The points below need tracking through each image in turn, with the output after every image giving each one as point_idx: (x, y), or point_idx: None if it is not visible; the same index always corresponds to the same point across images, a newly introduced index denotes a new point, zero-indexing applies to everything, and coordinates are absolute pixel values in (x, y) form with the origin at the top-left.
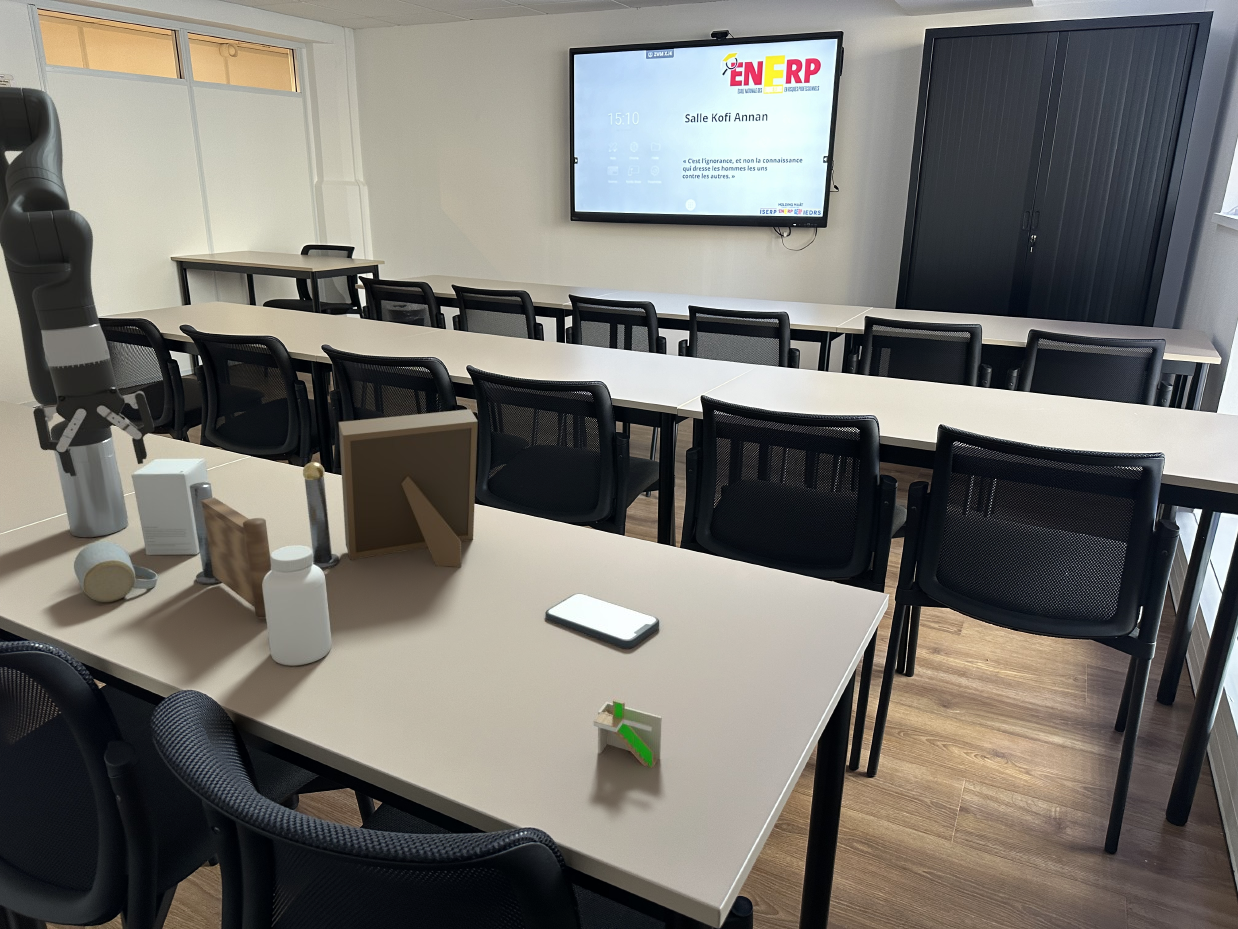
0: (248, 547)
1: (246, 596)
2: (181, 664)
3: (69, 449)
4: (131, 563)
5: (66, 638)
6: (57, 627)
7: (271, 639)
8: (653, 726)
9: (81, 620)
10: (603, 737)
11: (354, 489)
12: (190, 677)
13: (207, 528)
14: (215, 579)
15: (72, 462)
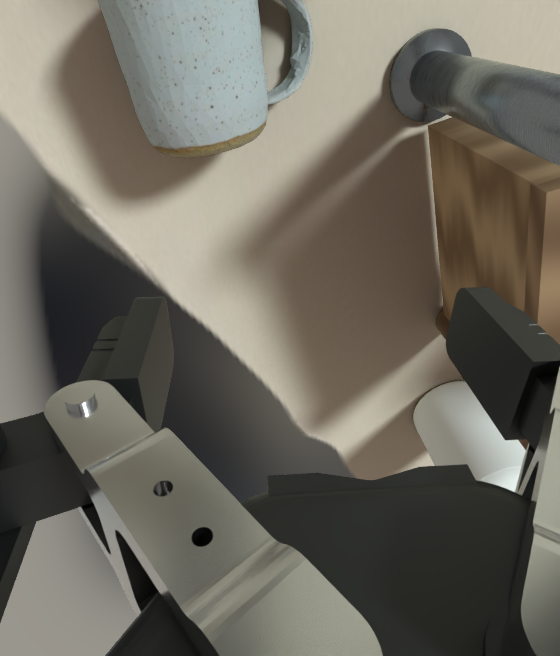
0: None
1: (446, 289)
2: (312, 388)
3: (137, 404)
4: (261, 44)
5: (139, 254)
6: (109, 199)
7: (425, 445)
8: None
9: (152, 185)
10: None
11: None
12: (318, 417)
13: (493, 172)
14: (426, 116)
15: (163, 408)
